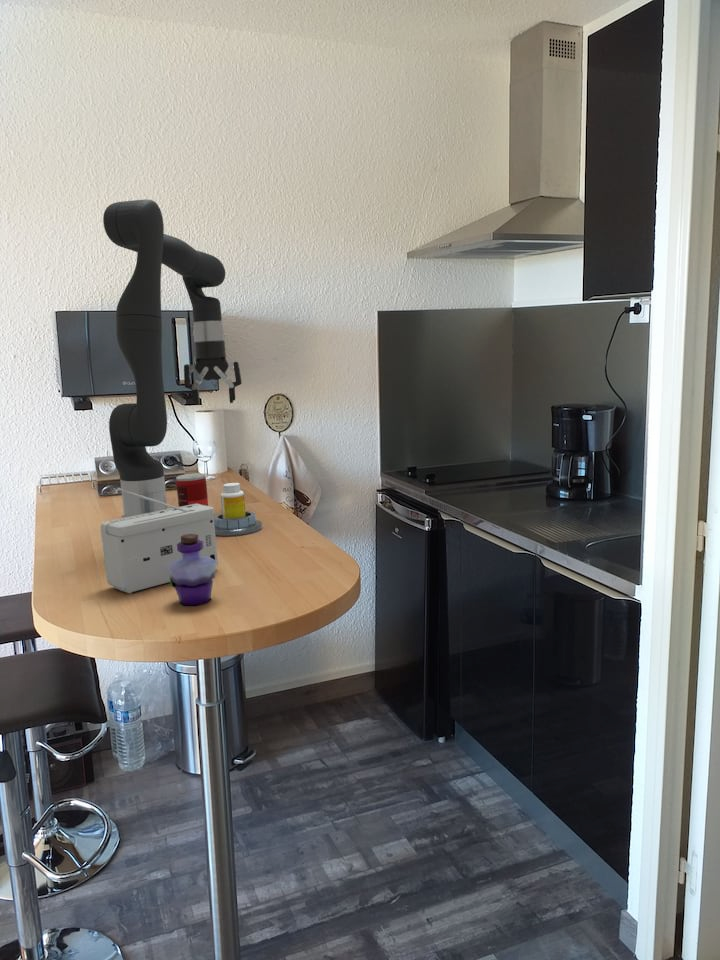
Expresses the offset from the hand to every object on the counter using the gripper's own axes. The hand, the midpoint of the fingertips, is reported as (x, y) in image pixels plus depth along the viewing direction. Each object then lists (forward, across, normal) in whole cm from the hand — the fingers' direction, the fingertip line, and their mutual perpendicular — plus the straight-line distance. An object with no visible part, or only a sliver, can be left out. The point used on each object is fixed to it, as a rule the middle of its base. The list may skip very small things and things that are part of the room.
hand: (215, 403), depth 194 cm
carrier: (+30, +4, -15) cm, 34 cm away
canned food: (+30, -9, +5) cm, 32 cm away
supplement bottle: (+29, +4, -15) cm, 33 cm away
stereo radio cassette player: (+30, -6, -53) cm, 61 cm away
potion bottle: (+30, +1, -68) cm, 74 cm away
